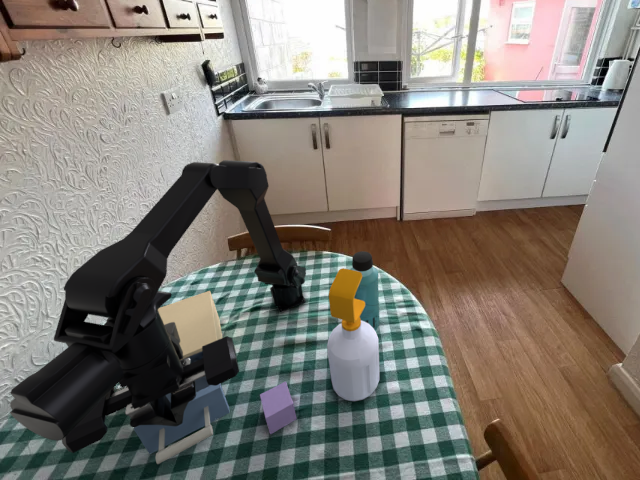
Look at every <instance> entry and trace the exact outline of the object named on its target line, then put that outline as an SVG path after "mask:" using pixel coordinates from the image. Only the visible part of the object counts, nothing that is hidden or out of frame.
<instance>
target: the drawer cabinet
mask: <svg viewBox="0 0 640 480" xmlns="http://www.w3.org/2000/svg"><path fill="white" fill-rule="evenodd" d="M158 311H159V314H160V316H161V318H162V321H163V323H164V325H165V324H168V323H171V322H175V324H176V328H177V331H178V334H179V337H180V343H179V344H180V346H181V349H182V351H183V359H185V358H187V357H189V356H192V355H194V354H197V353H199V352H201V351H202V346H204V345H207V344H209V343H212V342H214V341H216V340H219V339H221V338H223V334H222V333H223V332H222V327H221V321H220V317H219V313H218V311H217V307H216V305H215V301H214V298H213V296H212V293H211V290H208V291H205V292H202V293H199V294H196V295H192V296H189V297H186V298H184V299H181V300H179V301H175V302H173V303H169V304H167V305H166V304H165V305H164V306H163V305H162V306H161V307H160V308H159V309H158ZM181 360H182V359H181Z"/></svg>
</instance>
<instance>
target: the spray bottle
mask: <svg viewBox="0 0 640 480" xmlns="http://www.w3.org/2000/svg"><path fill="white" fill-rule="evenodd" d="M361 279H362V273H361V272H358V271H354V270H350V269H349V268H345V267H343V268H339V270H338V271H337V273H336V275H335V277H334V279H333V281H332V283H331V286H330V288H329V291H328V304H329V311H330V316H331V318H335V319H339V320H341V323H339V324H338V325H337V326H335V327H334V328H333V329H332V331H331V333H330V334H329V337H328V339H327V344H326V350H327V357H328V364H329V365H328V366H329V372H330V380H331V384H332V389H333V391H334V392H335V393H336V394H337V396H338V397H340V398H342V399H343V400H345V401H350V402H358V401H363V400H365V399H367V398H368V397H370V396H371V395H372V394H373V392H374V391H375V390H376V389H377V387H378V385H379V382H380V347H379V337H378V334H377V331H375V330H374V328H373V327H372V326H371V325H370V324H369V323H366V322H364V321H362V320H361V319H360V315H361V313H362V311H363V309H364V307H365V302H364V301H362V300H358V299H354V297H355V293H356V291H357V288H358V286H359V284H360V281H361Z"/></svg>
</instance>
